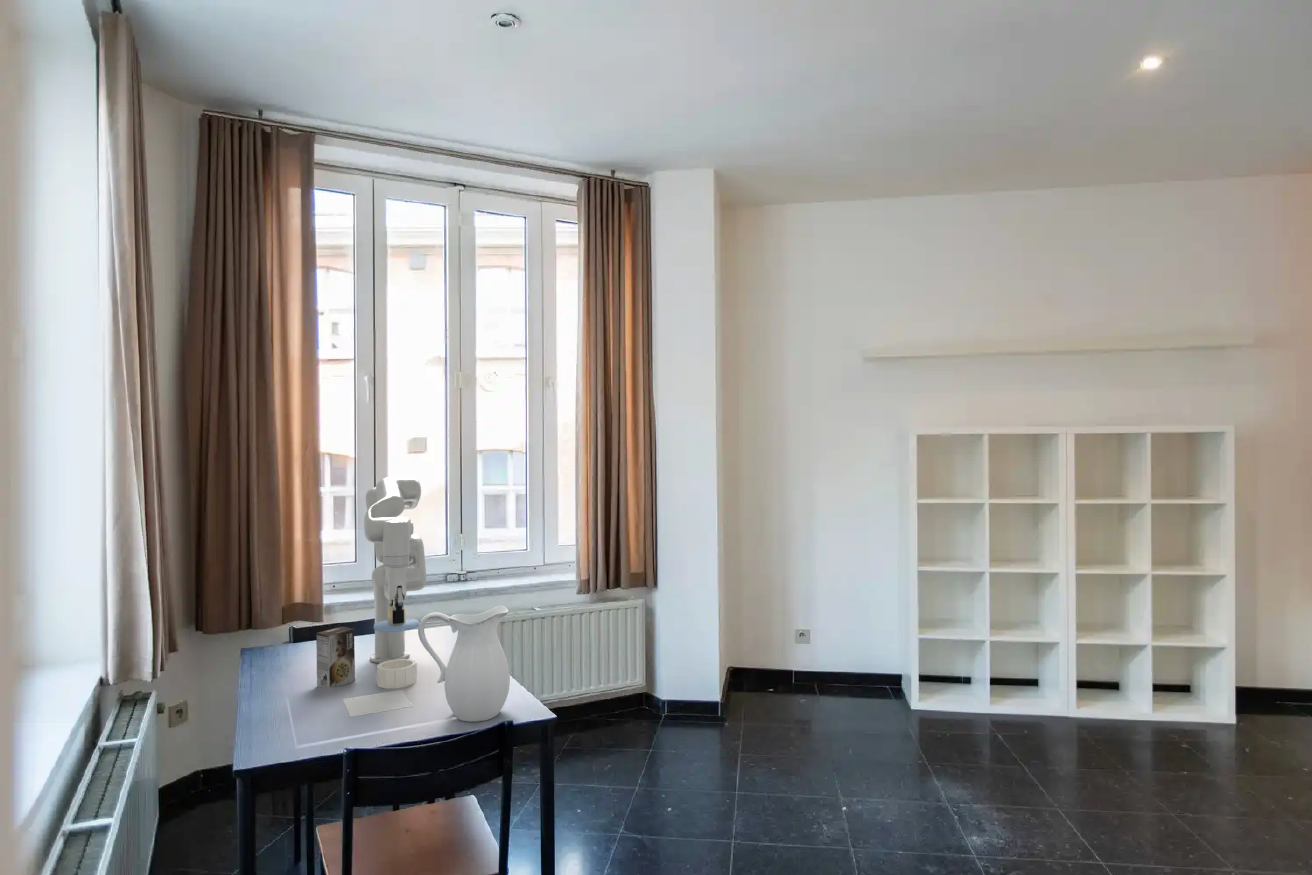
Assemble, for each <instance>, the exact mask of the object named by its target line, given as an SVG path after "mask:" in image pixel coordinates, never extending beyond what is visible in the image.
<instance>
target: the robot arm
mask: <svg viewBox="0 0 1312 875" xmlns="http://www.w3.org/2000/svg"><path fill="white" fill-rule="evenodd" d="M375 485H376V486H375V487H372V488H369V489H368V490H367V492H366V494H365V505H366V506H365V507H366V512H365V514H364V518H363V528H364V536H365V538H366V541H368V542H370V543H374V550H375V558H376V560H377V561H378V562H379V563H380V564H382V565H379V566H377V567H375V568H374V569H373V571H372V572H371V585H372V590H373V598H374V599H373V600H374V601H373V602H374V624H375V623H377V622H380V621H384V620H388V607H389V606H393V607H394V610H393V624H400V623H404V606H405V604H404V600H406V598H407V592H418V591H421V590H423V589H424V588H425V587H426V584H427V569H426V558H425V557H426V556H425V546H424V541H423V539H422V537H420V536H419V535H417V534H414V528H415V527H414V522H413V521H412V520H411V518H409V517H406V516H400V515H402V513H403V512H404V510H413V509H415V508H417V506H418V504H419V501H420V499H421V496H422V489H421V488H422V486H421V483H420V480H418V478H416V477H415V476H395V477H394V476H389V477H385V478H382V479H380V480H378V482H377V484H375ZM405 633H406V632H405V631H400V632H379V631H376V630H374V653H372V654H371V655H370V656H369V660H370V661H371V662H372V663H375V664H380V663H382V662H385V661H389V660H396V659H409V658H410V652H409V651H407V650H405V648H406V646H405V645H406V644H405V643H406V641H405V638H406V636H405Z"/></svg>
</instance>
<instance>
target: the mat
mask: <svg viewBox="0 0 1312 875" xmlns="http://www.w3.org/2000/svg"><path fill="white" fill-rule="evenodd" d="M342 700H343V702H344V705H345V706H346V707H345V708H346V710H347V712H348V715H349V717H350V718H354V717H359V716H365V715H371V714H377V713H382V712H383V713H384V712H389V711H394V710H400V709H407V708H411V707H414V706H413V704H412V703H411V701H410V699H409V698H408V697H407V695H406V693H405V692H404V691H403V689H399V690H393V691H387V692H386V691H385V692H380V693H374V694H366V695H361V696H354V697H349V698H348V697H347V698H343V699H342Z"/></svg>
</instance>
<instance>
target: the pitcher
mask: <svg viewBox="0 0 1312 875" xmlns="http://www.w3.org/2000/svg"><path fill="white" fill-rule="evenodd" d="M508 614H509V609H508V608H507V607H506V606H504V605H497V606H495V607H492V608H490V609H488V610H486V611H482V612H479V613H475V614H471V613H470V614H469V613H468V614H467V613H457V614H453V615H451V616H449V615H447V614H445V613H442V612H430V613H428V614H426V615H425V616H423V617H422V618H421V620H420V621H419V626H418V627H417V633H418V638H419V641H420V642H421V644H422V646H423V647H424V649H425V650H426V651H427V652H428V653H429V655H430V656H431V657H432V659H433V660H434V661H435V662H436V665H437V666H438V667H439V671H440V675H439V678H438V680H437V682H436V683H437V684H440V683H443V682H444V693H445V699H446V702H447V705H448V706H449V709H450V710H451V712H452V714H453V715H454V717H455V718H456V719H458V720H460V721H462V722H472V723H474V722H476V723H478V722H484V721H487V720H488V721H489V720H492V719H494V718H495V717H497V716H498V715H499V714H500V712H501V710H502V709H503V708H504V705H505V703H506V701H507V698H508V695H509V692H510V691H509V690H510V685H511V683H510V681H511V674H510V668H509V663H508V659H507V657H506V653H505V651H504V649H503V646H502V644H501V641H500V639H499V636H498V625H499V623H500V622H501V621H502V619H503V618H504V617H505V616H507V615H508ZM436 619H437V620H441V621H443V622H445V623H446V624H447V625H449V626H450V628H451V632H452V633H453V634H456V632H457V636H456V641H455V643H454V646H453V648H452V651H451V653H450V656H449V658H448V662H447V665H446V664H445V663H444V661H443V660H442V659H441V658H440V657H439V654H438V653H436V652H435V650H434V649H433V647H432V646H431V644H430V643H429V642H428V639H427V637H426V634H425V627H426V625H427V623H428V622H429V621H431V620H436Z"/></svg>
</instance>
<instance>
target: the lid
mask: <svg viewBox="0 0 1312 875" xmlns="http://www.w3.org/2000/svg"><path fill="white" fill-rule="evenodd" d="M393 610H394V607H393V606H389V607H388V620H384V621H380V622H377V623H375V622H374V624H373V630H374V631H375V630H376V631H379V632H400V631H410V630H414V629H418V627H419V623H420V621H419V620H418V619H416V618H415V619H414V618H408V617H406V605H404V623H400V624H393Z"/></svg>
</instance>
